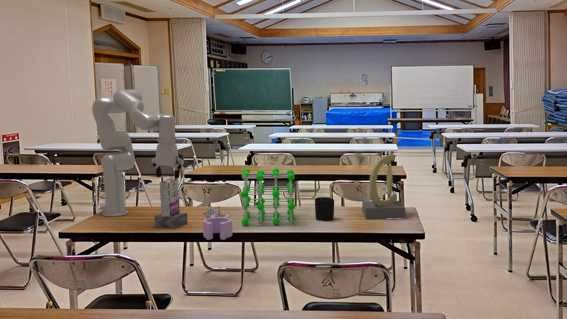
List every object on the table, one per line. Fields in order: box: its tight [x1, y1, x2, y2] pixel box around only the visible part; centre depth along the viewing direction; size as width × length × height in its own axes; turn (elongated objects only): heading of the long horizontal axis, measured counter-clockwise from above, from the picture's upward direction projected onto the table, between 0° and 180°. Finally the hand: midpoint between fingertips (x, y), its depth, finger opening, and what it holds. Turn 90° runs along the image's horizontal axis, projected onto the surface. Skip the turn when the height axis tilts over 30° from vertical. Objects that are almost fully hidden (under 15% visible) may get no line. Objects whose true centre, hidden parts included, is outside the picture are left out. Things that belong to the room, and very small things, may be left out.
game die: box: [202, 205, 224, 219], centre depth 290 cm, size 9×8×10 cm
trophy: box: [361, 153, 406, 220], centre depth 301 cm, size 19×19×30 cm
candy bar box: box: [159, 177, 181, 217], centre depth 286 cm, size 11×5×16 cm, turn 167°
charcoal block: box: [154, 212, 188, 230], centre depth 287 cm, size 11×11×5 cm
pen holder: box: [314, 196, 335, 222], centre depth 295 cm, size 9×9×10 cm
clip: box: [202, 213, 233, 241], centre depth 268 cm, size 20×12×7 cm, turn 179°
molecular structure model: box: [240, 167, 296, 227], centre depth 293 cm, size 24×25×24 cm
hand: (167, 177), depth 288 cm, fingers open, 9 cm apart
